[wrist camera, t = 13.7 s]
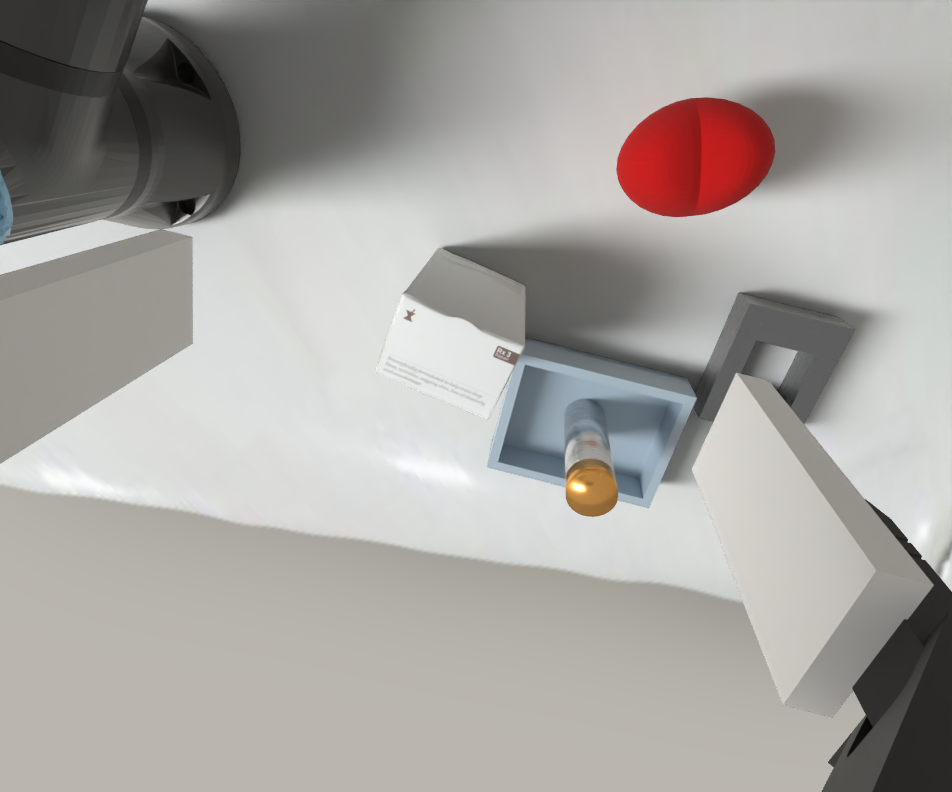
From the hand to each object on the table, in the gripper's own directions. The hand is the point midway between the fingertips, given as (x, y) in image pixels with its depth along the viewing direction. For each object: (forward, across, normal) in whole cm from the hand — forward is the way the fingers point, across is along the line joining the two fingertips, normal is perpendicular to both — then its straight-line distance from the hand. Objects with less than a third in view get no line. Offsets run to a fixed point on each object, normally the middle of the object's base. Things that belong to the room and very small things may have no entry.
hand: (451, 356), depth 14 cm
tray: (+35, +10, -17) cm, 40 cm away
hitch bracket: (+35, +22, -8) cm, 42 cm away
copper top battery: (+34, +10, -17) cm, 39 cm away
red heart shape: (+35, +10, +5) cm, 37 cm away
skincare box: (+35, -2, -9) cm, 36 cm away
